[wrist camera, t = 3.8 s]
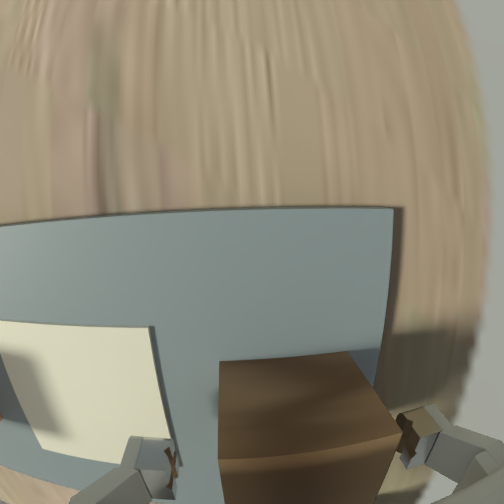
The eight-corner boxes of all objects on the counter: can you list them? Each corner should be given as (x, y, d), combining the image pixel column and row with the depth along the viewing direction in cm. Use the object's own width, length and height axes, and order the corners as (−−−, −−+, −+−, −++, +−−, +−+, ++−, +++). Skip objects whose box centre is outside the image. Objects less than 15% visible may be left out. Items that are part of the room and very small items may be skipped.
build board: (381, 206, 12) (396, 209, 11) (341, 479, 15) (346, 493, 14) (-92, 238, 10) (-105, 242, 9) (-18, 447, 13) (-25, 456, 12)
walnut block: (347, 350, 12) (402, 432, 7) (333, 437, 13) (366, 516, 8) (219, 360, 12) (217, 459, 7) (227, 448, 13) (230, 536, 8)
